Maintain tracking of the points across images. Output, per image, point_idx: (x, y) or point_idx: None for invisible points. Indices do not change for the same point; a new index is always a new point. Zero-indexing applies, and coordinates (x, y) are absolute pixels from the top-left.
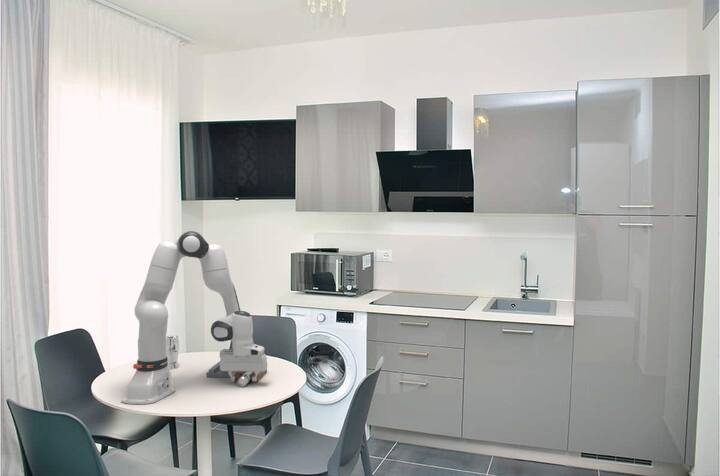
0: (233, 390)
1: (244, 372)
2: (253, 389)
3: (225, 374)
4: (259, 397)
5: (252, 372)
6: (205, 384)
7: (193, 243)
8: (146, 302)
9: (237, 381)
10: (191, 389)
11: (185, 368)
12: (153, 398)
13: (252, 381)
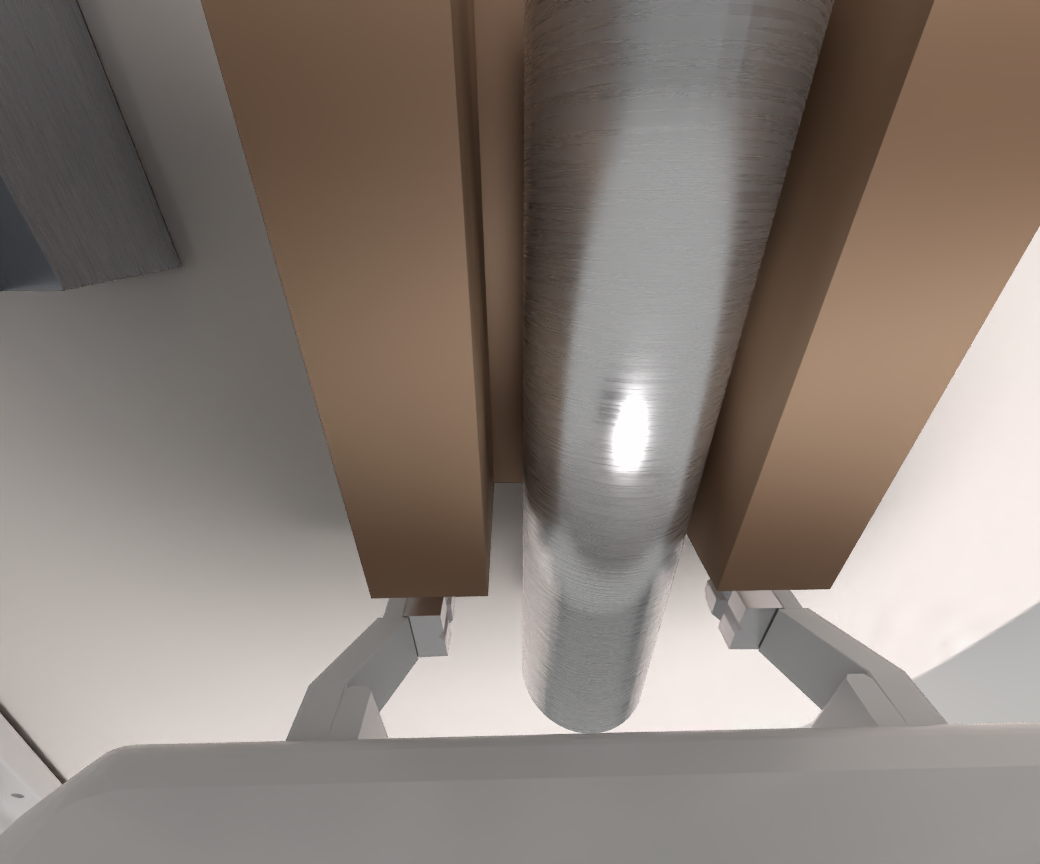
0: (492, 613)
1: (476, 276)
2: (692, 577)
3: (27, 286)
4: (755, 701)
5: (743, 534)
6: (27, 488)
7: None
8: None
9: (527, 678)
10: (48, 624)
11: None
12: (22, 812)
13: (705, 588)
